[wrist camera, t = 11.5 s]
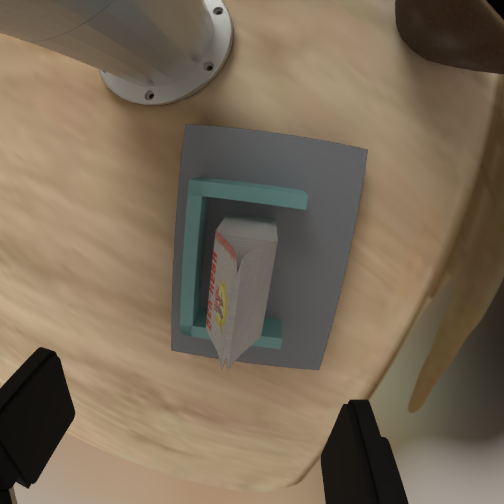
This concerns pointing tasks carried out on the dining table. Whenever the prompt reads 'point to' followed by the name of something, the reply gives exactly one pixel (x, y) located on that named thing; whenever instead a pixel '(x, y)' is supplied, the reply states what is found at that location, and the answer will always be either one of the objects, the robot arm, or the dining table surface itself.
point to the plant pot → (455, 32)
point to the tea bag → (240, 283)
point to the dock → (288, 230)
